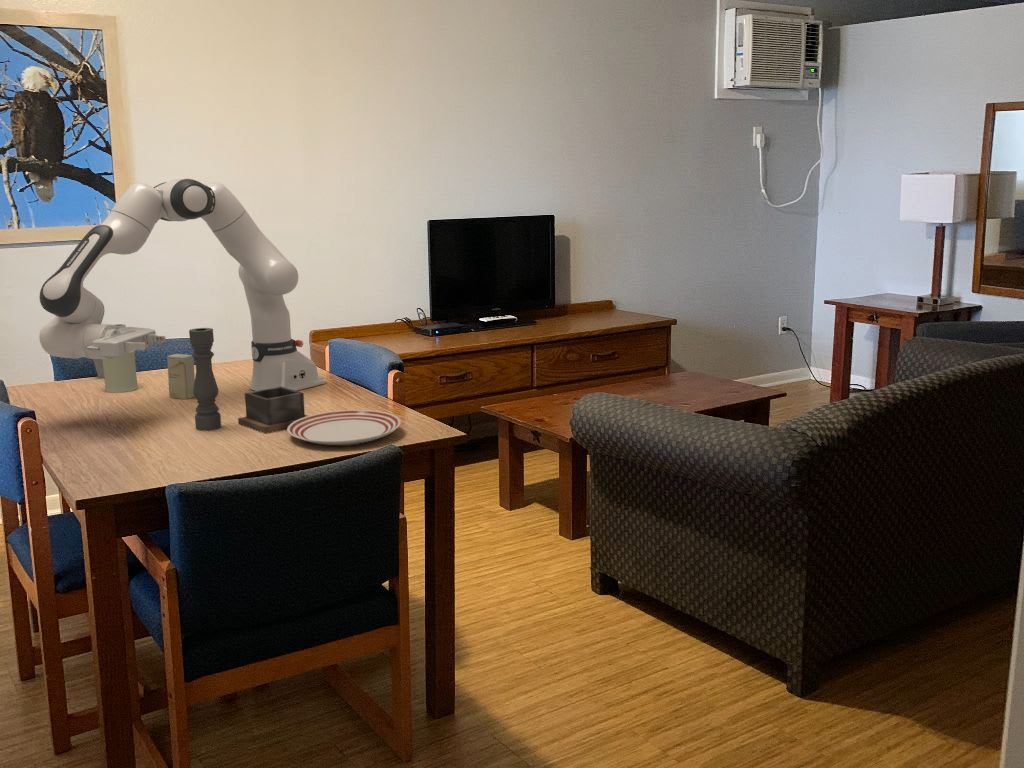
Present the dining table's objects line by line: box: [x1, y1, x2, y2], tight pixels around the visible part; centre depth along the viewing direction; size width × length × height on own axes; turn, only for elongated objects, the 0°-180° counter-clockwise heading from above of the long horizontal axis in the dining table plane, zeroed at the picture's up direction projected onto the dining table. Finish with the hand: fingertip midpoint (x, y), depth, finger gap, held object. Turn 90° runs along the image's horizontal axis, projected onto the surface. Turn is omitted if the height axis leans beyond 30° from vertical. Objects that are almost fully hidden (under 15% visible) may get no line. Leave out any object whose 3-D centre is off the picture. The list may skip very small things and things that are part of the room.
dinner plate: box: [286, 409, 402, 446], centre depth 246 cm, size 28×27×3 cm
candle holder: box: [188, 327, 222, 431], centre depth 252 cm, size 6×6×25 cm
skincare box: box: [166, 353, 196, 400], centre depth 286 cm, size 6×4×12 cm
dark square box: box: [237, 387, 308, 434], centre depth 257 cm, size 14×13×8 cm
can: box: [103, 351, 139, 393], centre depth 297 cm, size 9×9×12 cm
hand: (155, 343), depth 252 cm, fingers open, 8 cm apart
